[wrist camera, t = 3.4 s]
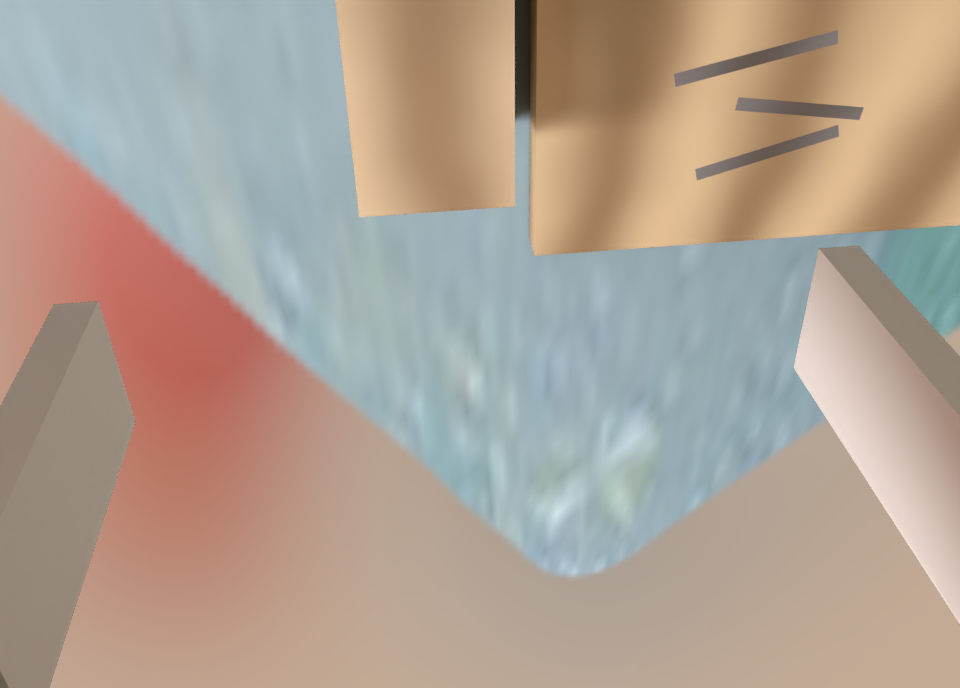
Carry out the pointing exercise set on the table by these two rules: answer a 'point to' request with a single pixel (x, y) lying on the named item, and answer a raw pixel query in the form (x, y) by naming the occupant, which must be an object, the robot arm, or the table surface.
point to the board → (740, 120)
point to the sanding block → (430, 103)
